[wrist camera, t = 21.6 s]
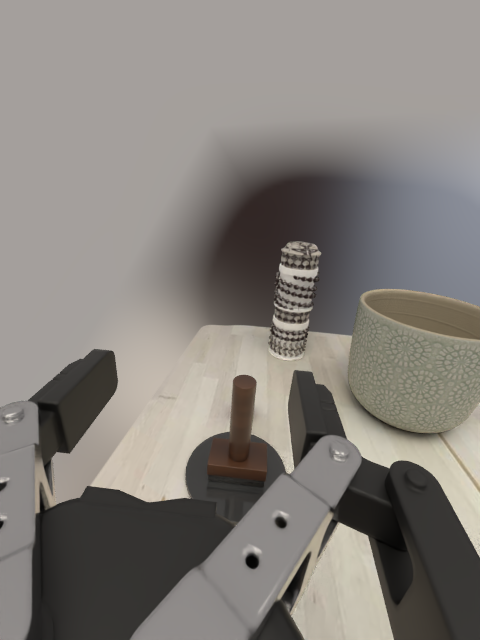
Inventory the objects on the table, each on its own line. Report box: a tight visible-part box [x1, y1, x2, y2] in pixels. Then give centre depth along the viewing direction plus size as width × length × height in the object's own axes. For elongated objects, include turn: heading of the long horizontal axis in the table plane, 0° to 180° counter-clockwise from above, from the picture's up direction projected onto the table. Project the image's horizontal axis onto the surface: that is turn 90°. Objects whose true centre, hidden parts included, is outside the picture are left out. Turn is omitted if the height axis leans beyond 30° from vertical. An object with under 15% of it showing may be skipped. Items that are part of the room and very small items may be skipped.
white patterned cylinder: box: [268, 242, 321, 361], centre depth 63 cm, size 9×9×25 cm
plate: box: [186, 432, 285, 525], centre depth 37 cm, size 13×13×1 cm
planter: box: [348, 289, 480, 433], centre depth 48 cm, size 21×21×19 cm
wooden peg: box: [207, 375, 267, 487], centre depth 34 cm, size 4×7×14 cm, turn 85°
